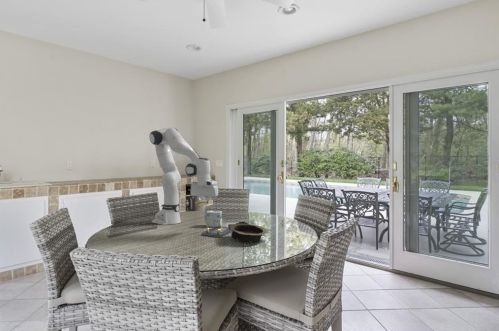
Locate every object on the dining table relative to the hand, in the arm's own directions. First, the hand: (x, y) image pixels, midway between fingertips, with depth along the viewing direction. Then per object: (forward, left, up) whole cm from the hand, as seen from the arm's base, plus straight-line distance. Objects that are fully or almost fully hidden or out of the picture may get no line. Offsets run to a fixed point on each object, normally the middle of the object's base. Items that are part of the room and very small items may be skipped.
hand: (204, 202), depth 193 cm
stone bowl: (+33, -2, -20) cm, 39 cm away
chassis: (+9, +4, -20) cm, 22 cm away
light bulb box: (-4, +19, -20) cm, 28 cm away
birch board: (0, 0, -2) cm, 2 cm away
